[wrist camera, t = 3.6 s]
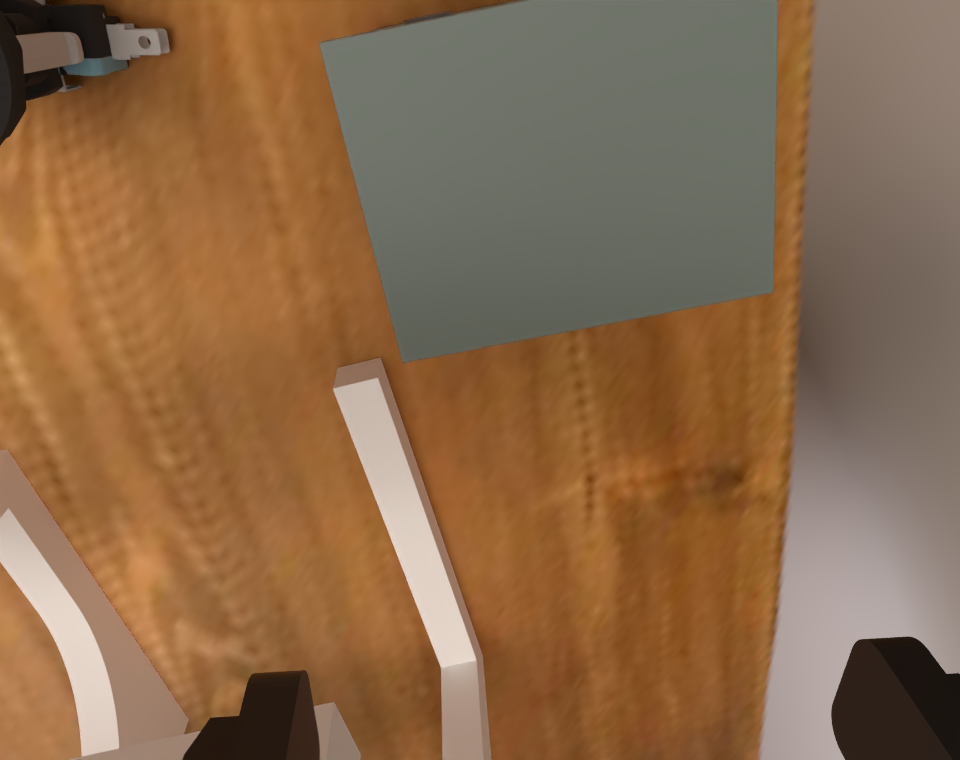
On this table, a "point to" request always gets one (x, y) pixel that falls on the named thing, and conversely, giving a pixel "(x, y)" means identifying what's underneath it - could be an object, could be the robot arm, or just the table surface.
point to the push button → (61, 50)
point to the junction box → (561, 163)
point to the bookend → (131, 677)
